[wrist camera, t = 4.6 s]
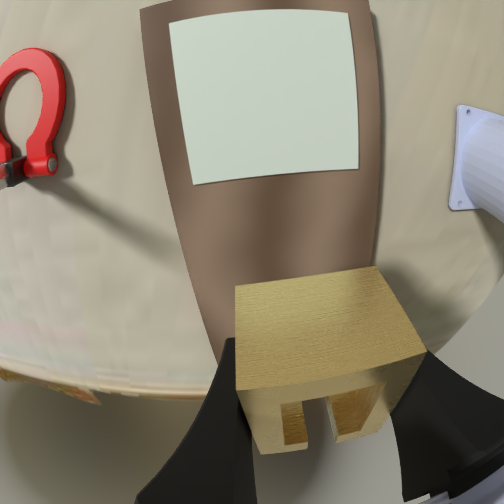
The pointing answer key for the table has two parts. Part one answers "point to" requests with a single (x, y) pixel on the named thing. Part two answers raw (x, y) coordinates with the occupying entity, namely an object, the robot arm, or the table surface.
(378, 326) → the wooden box
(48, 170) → the tow hook
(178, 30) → the sage pad
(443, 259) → the table surface
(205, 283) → the stand board
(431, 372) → the robot arm
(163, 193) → the table surface
